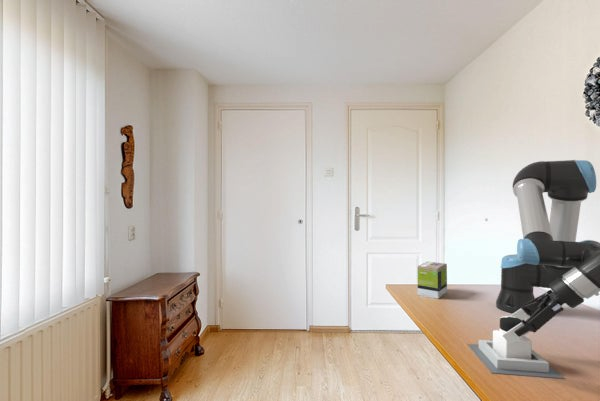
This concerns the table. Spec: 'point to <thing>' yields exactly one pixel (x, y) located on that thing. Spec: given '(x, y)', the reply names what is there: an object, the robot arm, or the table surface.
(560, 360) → the table surface
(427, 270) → the tea box
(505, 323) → the medicine bottle
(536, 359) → the collar plate
